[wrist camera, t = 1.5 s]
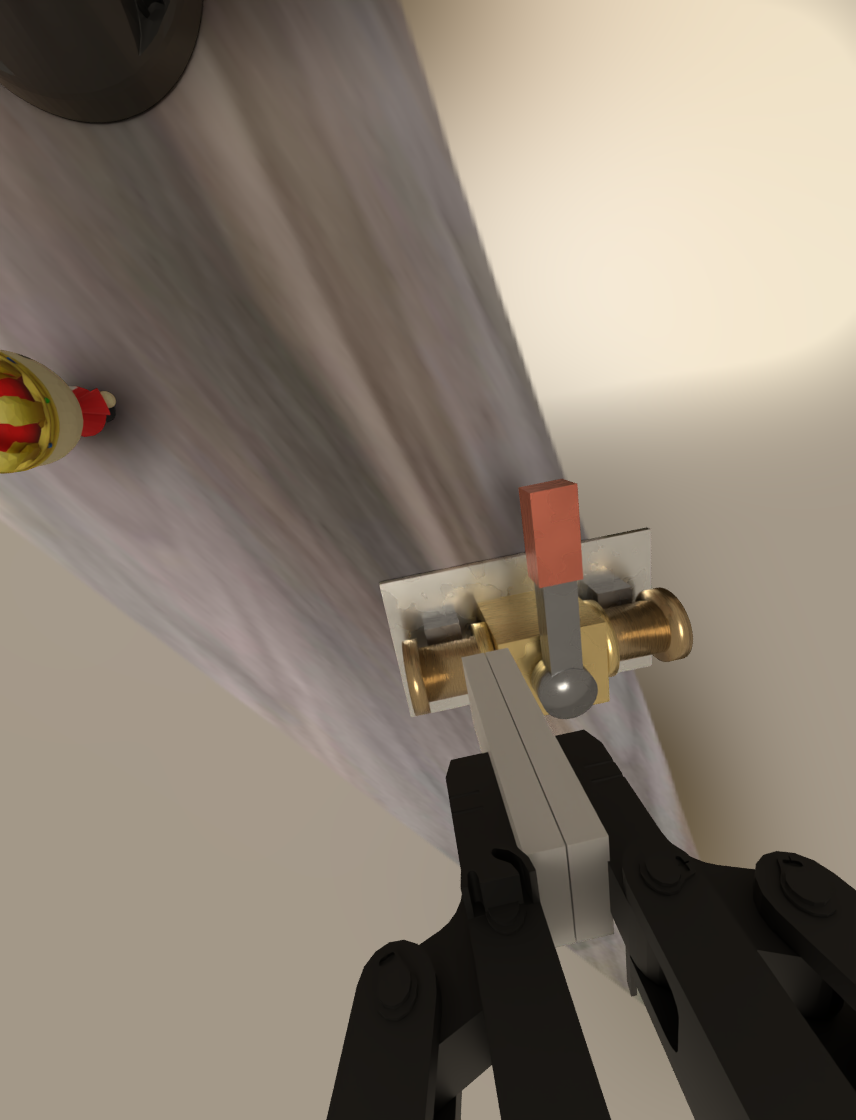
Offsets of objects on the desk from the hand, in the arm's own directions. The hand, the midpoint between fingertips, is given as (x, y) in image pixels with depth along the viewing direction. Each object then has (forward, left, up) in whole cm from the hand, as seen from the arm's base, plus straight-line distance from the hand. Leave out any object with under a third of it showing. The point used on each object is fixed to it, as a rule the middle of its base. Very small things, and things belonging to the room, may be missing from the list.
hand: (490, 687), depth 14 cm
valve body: (+11, +7, -22) cm, 26 cm away
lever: (+5, +7, -14) cm, 16 cm away
